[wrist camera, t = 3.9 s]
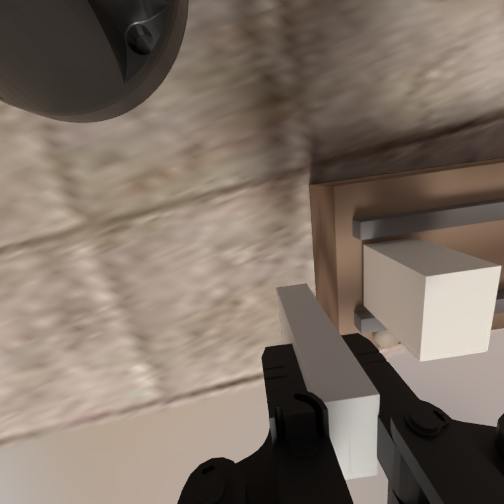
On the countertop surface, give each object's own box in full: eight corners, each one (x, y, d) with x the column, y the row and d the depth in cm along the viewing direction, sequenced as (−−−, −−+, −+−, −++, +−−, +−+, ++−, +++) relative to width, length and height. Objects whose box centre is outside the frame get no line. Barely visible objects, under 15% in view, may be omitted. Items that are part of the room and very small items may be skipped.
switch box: (309, 184, 18) (341, 186, 13) (517, 155, 19) (642, 144, 13) (317, 314, 22) (346, 362, 16) (496, 287, 22) (589, 326, 16)
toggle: (363, 244, 14) (426, 276, 10) (414, 237, 14) (501, 265, 10) (363, 305, 16) (419, 361, 11) (410, 298, 16) (487, 351, 11)
